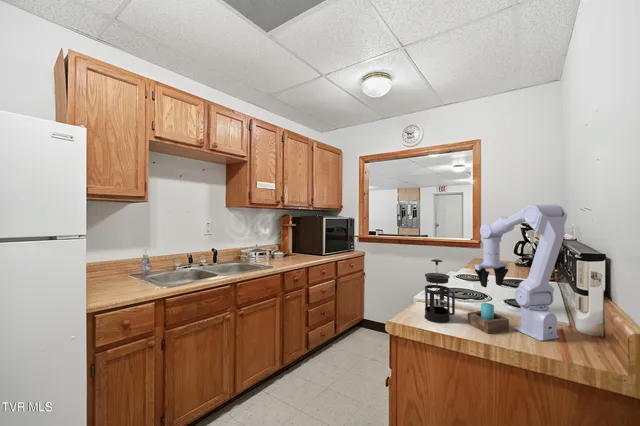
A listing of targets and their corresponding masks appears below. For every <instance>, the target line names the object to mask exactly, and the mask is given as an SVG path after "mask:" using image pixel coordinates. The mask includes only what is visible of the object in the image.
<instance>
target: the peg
mask: <svg viewBox="0 0 640 426" xmlns="http://www.w3.org/2000/svg"><path fill="white" fill-rule="evenodd" d="M480 311H481V317H482V318H484V319H486V320H493V319H494V313H495V306H494V304H492V303H489V302H488V303H487V302H482V303H480Z"/></svg>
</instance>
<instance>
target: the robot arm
mask: <svg viewBox="0 0 640 426" xmlns="http://www.w3.org/2000/svg"><path fill="white" fill-rule="evenodd" d="M567 217H568V213H567V212H566V210H565V209H564V207H563V206H562V205H560V204H558V203H557V204H556V203H555V204H528V205H527V206H524V207H522V208H521V210H519V211H518V212H516V213H514V214H513V215H511V216H509V217H507V216H500V217H498V219H497V220H493V221H491V222H490V223H489V224H488V223H483V224H482V225H481V226H480V229H479V233H480V236H481V237H482V238H483V239H482V241H483V242H482V243H483V247H482V249H483V251H482V252H483V253H482V254H483V260H482V261H481V263H477V264H474V272H475V273H476V275H477V276H478V279H479V283H480V286H481V287H482V288H487V286H488V278H489V275H490V271H489V270H491V269H492V270H493V271H494V276H495V278H494V279H495V285H496V286H499V287H501V286H502V285H503V282H504V281H505V277H506V275H507V273H508V272H509V268H508V267H509V266H508V262H503V261H501V262H500V258H501V255H500V253H501V251H500V250H501V249H500V243H501V241H502V237H503V236H504V234H506V233H507V234H508V233H509V232H512V231H513V230H514V229H515V227H516V226H518V225H519V224H523V223H527V224H528V225H529V226H530V227H531V228H532V230H533V231H535V232H536V233H538V234H539V236H540V237H539V239H538V240H539V241H538V244H537V246H536V250H535V254H534V257H533V260H532V262H531V263H532V264H531V267H530V270H529V274H528V276H527V278H525V279H524V280H522V281H521V282H520V283H519V285H518V287H517V288H516V289H515V291H514V300H515V301H516V303H517V304H518V306H520V326H515V327H513V328H514V330H515V331H518V332H520V333H523V334H524V335H527V336H528V337H530V338H531V337H532V338H533V339H535V340H537V341H541V342H543V341H549V340H555V339H559V338H560V337H559V335H558V318H557V316H556V314H554V313H553V312H551V311H549V309H550V306H551V305H552V304H553V303H554V300H555V299H554V291H555V288H554V287H553V286H552V285H551V284H550V279H551V277H552V274H553V272H554V269H555V265H556V263H557V259H558V256H559V253H560V251H561V247H562V244H563V241H564V238H565V235H566V234H565V232H566V231H565V225H566V221H567ZM487 270H488V271H487Z"/></svg>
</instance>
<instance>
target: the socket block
mask: <svg viewBox="0 0 640 426" xmlns="http://www.w3.org/2000/svg"><path fill="white" fill-rule="evenodd" d="M467 324H468V325H470V326H472V327H474V328H475V329H478V330H480V331H481V332H484V333H486V334H488V335H491V334H497V333H502V332H509V331H510V319H509V318H507V317H505V316H502V315H500V314H497V313H495V312H494V319H493V320H486V319H484V318H482V317H481V310H479V311H472V312H471V311H470V312H467Z"/></svg>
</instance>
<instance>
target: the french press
mask: <svg viewBox="0 0 640 426" xmlns="http://www.w3.org/2000/svg"><path fill="white" fill-rule="evenodd" d="M431 262H433V263H435V265H436V270H435V271H436V272H427V273H425V274H424V277H425V280H426V282H427V283H431V284H427V285H425V286H424V292H425V293H424V299H425V301H424V306H425V307H424V316H423V317H424V319H425V320H427V321H428V322H431V323H435V324H448V323H450V322H451V317H453V316H455V314H456V311H455V310H456V305H455V304H456V300H455V299H456V298H455V297H456V296H455V295H456V292H455V291H453V290H451V289H450V288H449V287H448V286H445V285H446V284H448V283H449V279H450V275H449V274H446V273H441V272H440V273H439V272H438V266H439V263H443V260H442V259H436V258H435V259H431ZM444 284H445V285H444ZM433 289H436V290H433ZM438 289H439V290H438ZM428 294H429V295H428ZM450 294H451V305H450ZM435 295H436V298H435ZM445 295H446V300H445ZM438 296H439V298H438ZM428 297H429V298H428ZM450 306H451V307H450ZM450 308H451V312H450Z"/></svg>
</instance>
